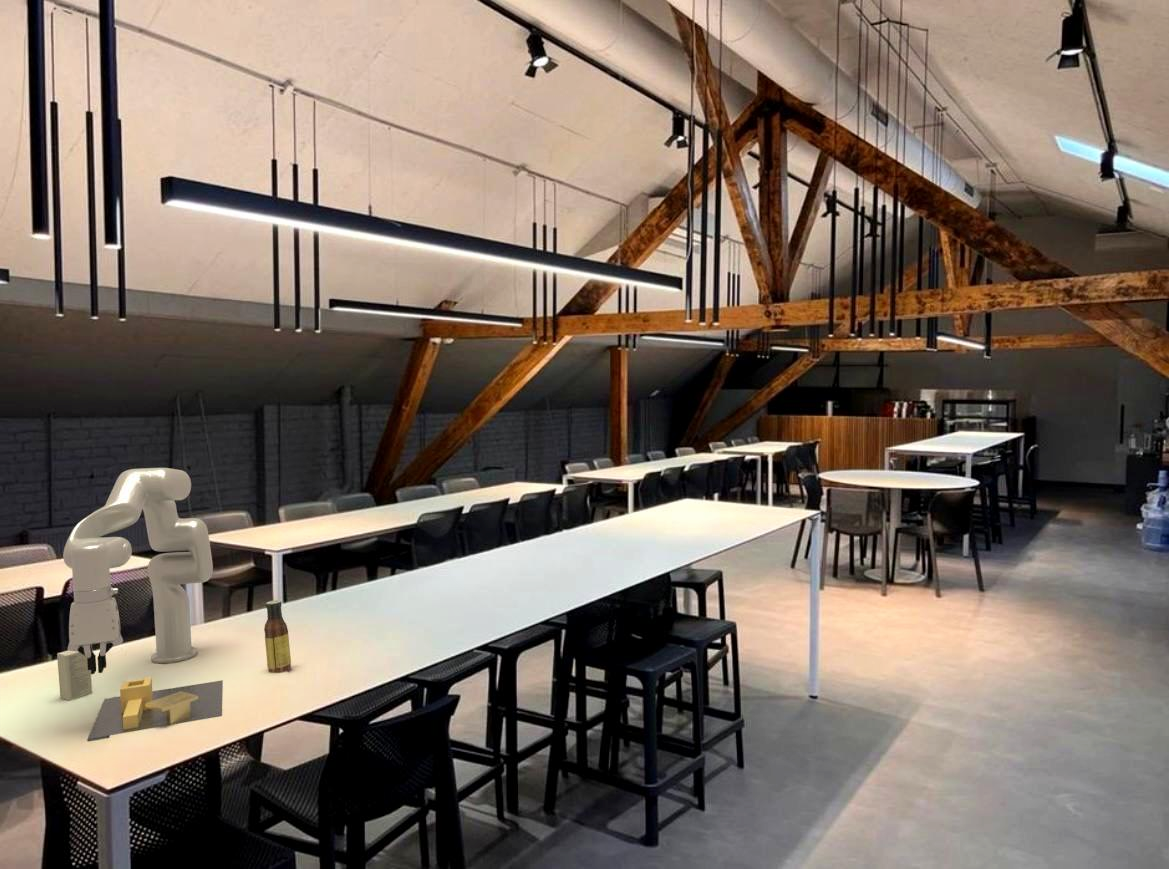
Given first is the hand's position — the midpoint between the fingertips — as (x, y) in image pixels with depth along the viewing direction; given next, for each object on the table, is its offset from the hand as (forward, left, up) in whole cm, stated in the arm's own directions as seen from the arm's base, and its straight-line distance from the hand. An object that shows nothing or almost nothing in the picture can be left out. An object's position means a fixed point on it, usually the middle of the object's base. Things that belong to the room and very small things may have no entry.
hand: (97, 671), depth 192 cm
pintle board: (-4, +12, -13) cm, 19 cm away
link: (-2, +7, -13) cm, 15 cm away
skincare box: (-27, -9, -13) cm, 31 cm away
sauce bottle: (-21, +41, -13) cm, 48 cm away
